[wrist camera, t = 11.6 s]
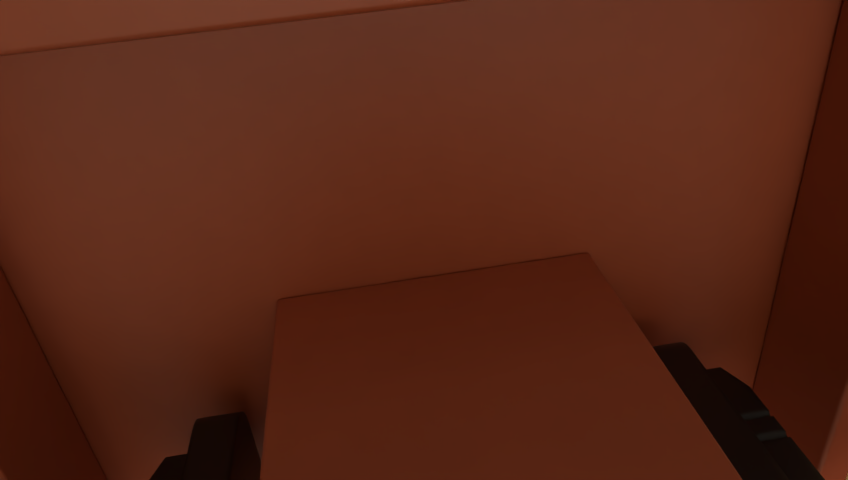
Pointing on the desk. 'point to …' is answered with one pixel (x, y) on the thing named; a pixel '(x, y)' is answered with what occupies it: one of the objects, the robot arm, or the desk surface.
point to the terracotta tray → (403, 192)
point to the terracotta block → (478, 384)
